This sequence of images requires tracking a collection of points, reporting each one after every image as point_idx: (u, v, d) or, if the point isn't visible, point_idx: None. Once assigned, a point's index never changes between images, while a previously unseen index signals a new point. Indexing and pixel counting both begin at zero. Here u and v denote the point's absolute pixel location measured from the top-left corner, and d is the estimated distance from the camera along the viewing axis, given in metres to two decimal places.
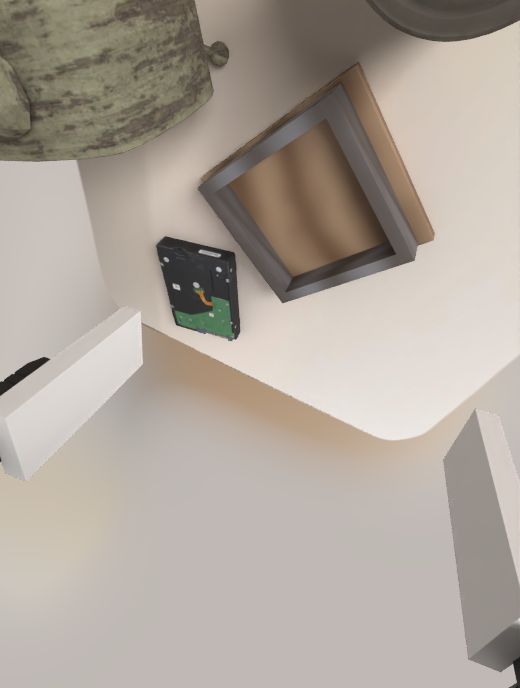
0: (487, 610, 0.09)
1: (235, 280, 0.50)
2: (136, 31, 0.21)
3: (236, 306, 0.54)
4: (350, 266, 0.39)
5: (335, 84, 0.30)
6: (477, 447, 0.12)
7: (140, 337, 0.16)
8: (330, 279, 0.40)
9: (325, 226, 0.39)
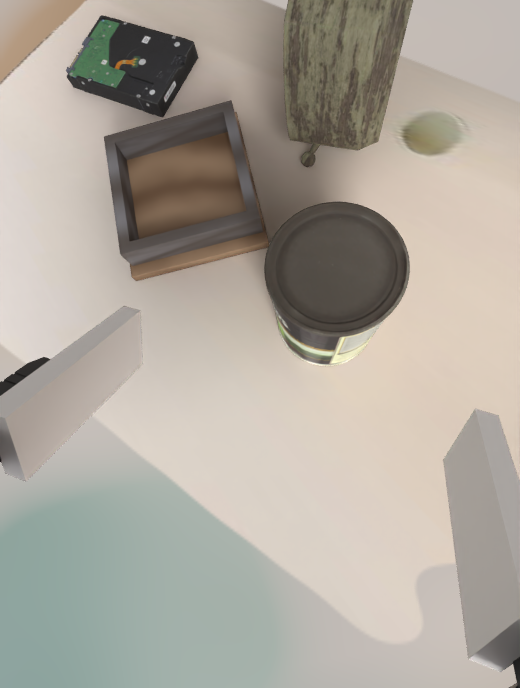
0: (487, 610, 0.09)
1: (135, 106, 0.50)
2: (342, 81, 0.32)
3: (106, 95, 0.51)
4: (126, 206, 0.43)
5: (262, 227, 0.43)
6: (477, 447, 0.12)
7: (140, 337, 0.16)
8: (119, 186, 0.43)
9: (166, 199, 0.45)
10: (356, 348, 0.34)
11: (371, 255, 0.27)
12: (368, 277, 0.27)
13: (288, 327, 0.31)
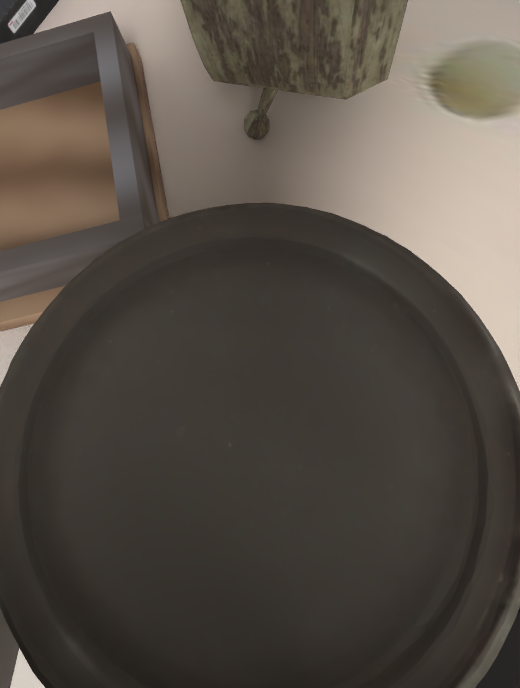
0: None
1: None
2: None
3: None
4: None
5: None
6: None
7: None
8: None
9: None
10: None
11: (378, 415, 0.07)
12: (367, 512, 0.07)
13: None
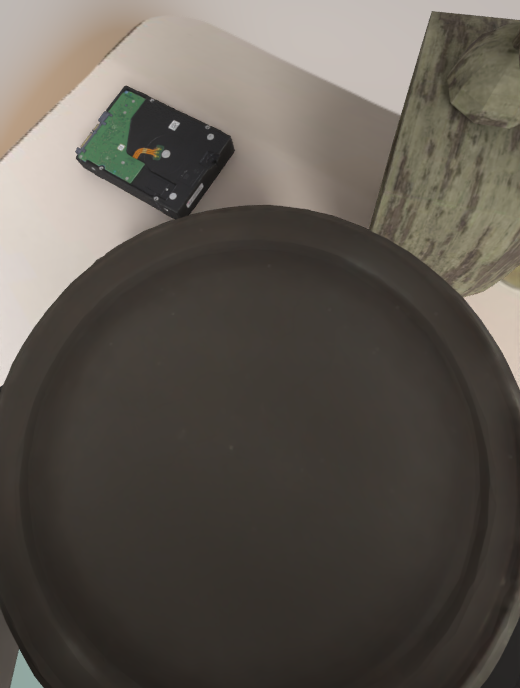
0: None
1: (152, 204, 0.41)
2: (453, 258, 0.23)
3: (120, 186, 0.42)
4: None
5: None
6: None
7: None
8: None
9: None
10: None
11: (380, 418, 0.07)
12: (368, 515, 0.07)
13: None
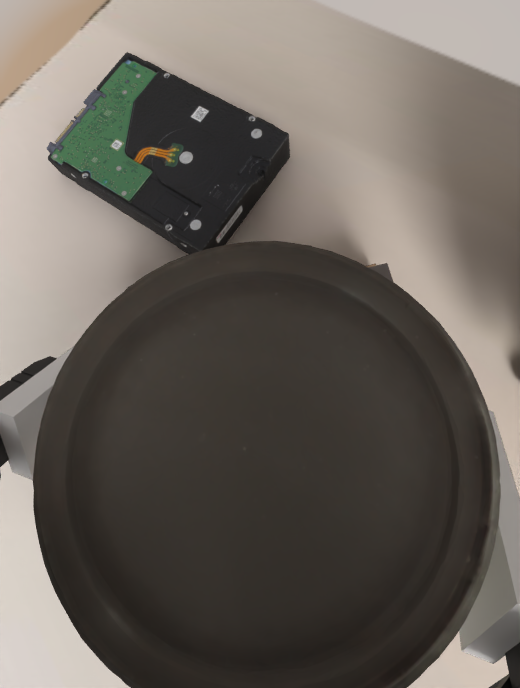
0: (480, 602, 0.09)
1: (161, 234, 0.27)
2: None
3: (113, 203, 0.27)
4: None
5: None
6: None
7: None
8: None
9: None
10: None
11: (370, 424, 0.08)
12: (359, 505, 0.08)
13: None
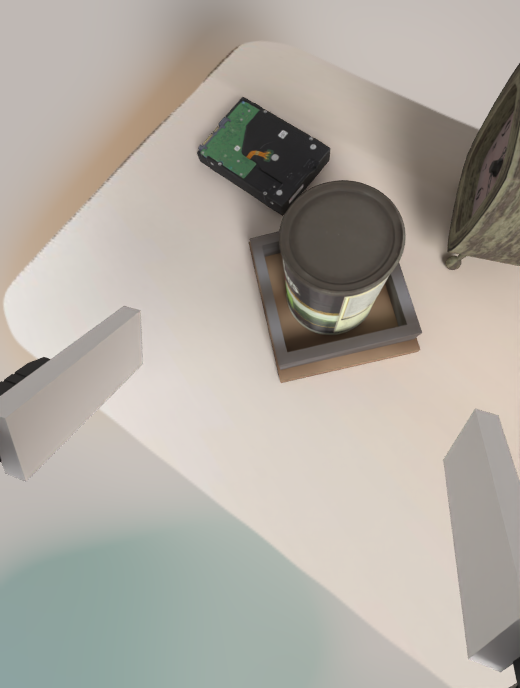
0: (487, 610, 0.09)
1: (258, 197, 0.50)
2: None
3: (232, 179, 0.51)
4: None
5: None
6: (477, 447, 0.12)
7: (140, 337, 0.16)
8: (270, 292, 0.43)
9: None
10: (358, 314, 0.38)
11: (372, 226, 0.32)
12: (369, 245, 0.31)
13: (298, 292, 0.35)
